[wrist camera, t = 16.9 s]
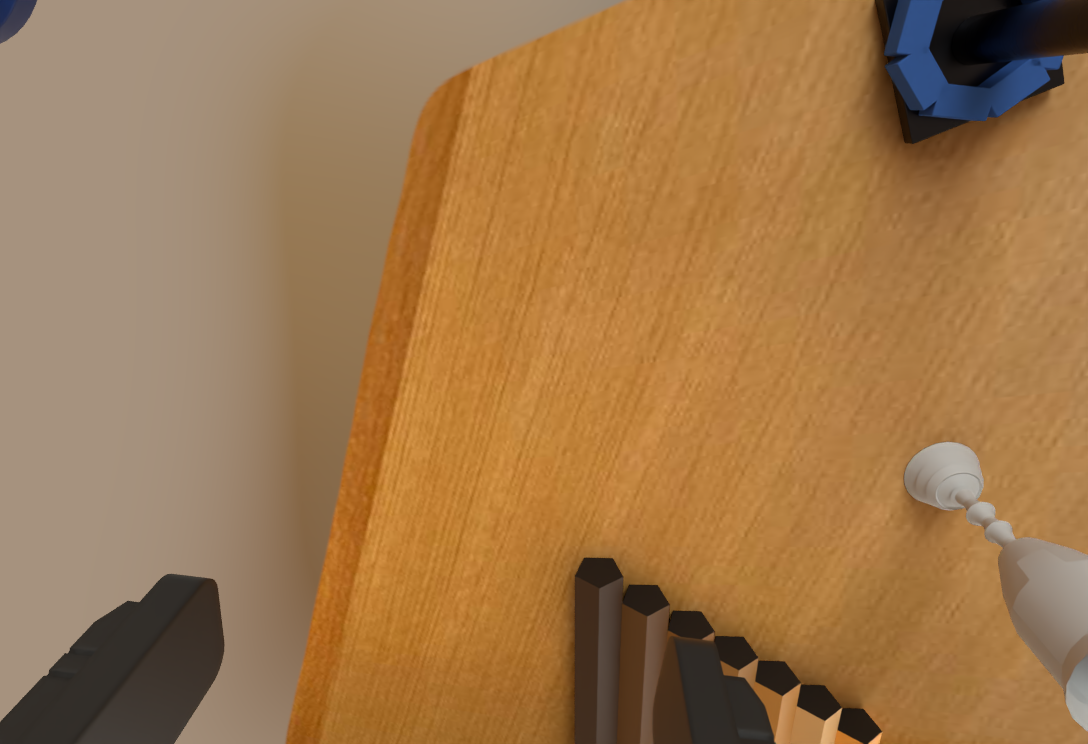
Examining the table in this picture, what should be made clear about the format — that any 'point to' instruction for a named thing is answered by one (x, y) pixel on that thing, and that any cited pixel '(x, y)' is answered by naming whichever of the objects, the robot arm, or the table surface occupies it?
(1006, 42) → the black peg stand
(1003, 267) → the table surface
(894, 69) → the ring
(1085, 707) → the chalice
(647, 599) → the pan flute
